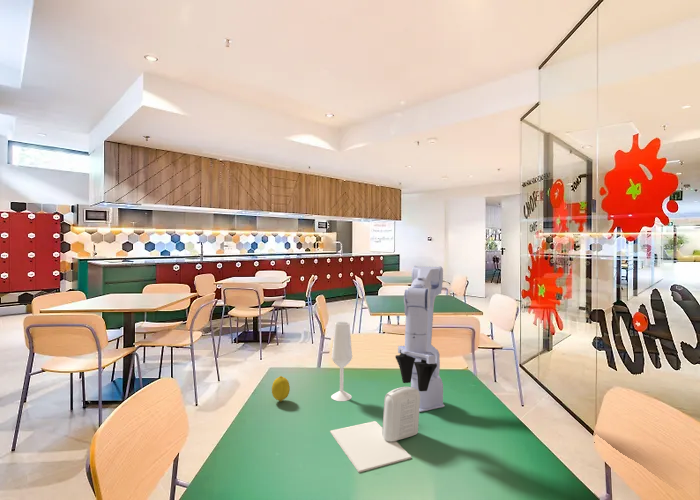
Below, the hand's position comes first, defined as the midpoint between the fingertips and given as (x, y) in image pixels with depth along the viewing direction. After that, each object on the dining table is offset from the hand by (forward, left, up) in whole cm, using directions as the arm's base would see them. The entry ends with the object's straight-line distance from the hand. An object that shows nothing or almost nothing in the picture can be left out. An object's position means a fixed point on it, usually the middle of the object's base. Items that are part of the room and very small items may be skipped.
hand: (414, 386), depth 93 cm
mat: (+13, -1, -13) cm, 18 cm away
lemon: (+28, -33, -13) cm, 45 cm away
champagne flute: (+9, -29, -13) cm, 33 cm away
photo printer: (+4, -1, -13) cm, 13 cm away
